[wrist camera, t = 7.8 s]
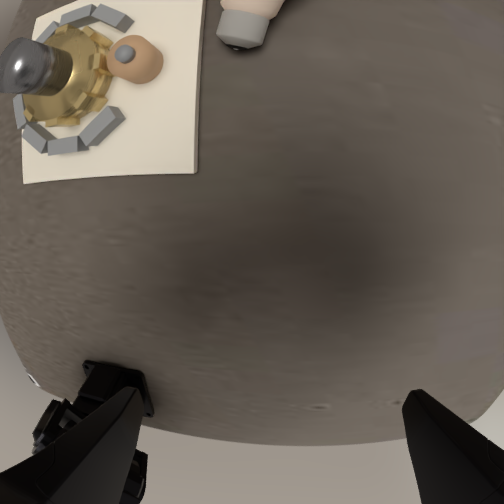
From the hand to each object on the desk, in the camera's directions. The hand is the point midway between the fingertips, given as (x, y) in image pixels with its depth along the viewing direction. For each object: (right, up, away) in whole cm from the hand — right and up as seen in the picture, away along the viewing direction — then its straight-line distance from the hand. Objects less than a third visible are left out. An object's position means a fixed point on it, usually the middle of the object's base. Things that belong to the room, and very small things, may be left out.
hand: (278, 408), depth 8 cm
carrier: (-11, +17, +7) cm, 21 cm away
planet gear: (-12, +16, +6) cm, 21 cm away
